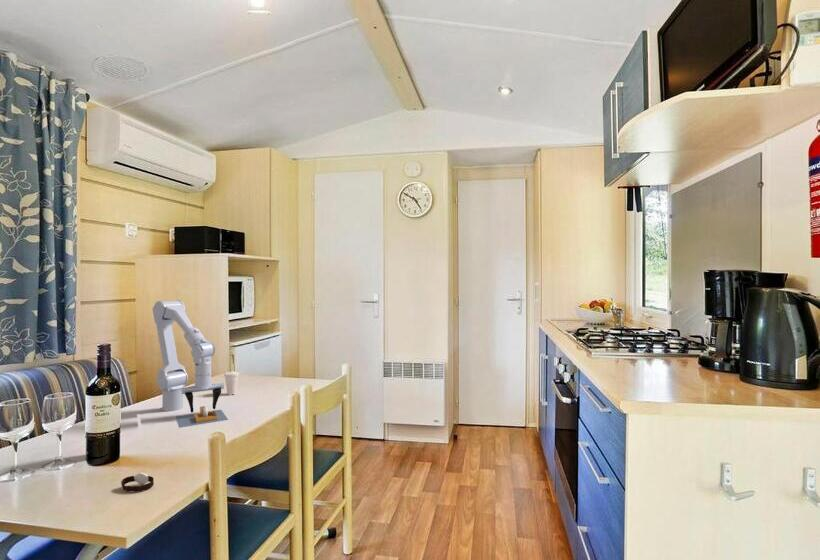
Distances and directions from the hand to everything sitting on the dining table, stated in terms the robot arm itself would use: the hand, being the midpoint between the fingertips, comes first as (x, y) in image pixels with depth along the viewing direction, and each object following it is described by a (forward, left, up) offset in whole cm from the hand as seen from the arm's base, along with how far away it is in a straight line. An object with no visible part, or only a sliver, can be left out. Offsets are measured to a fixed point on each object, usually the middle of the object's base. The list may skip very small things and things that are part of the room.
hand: (203, 410), depth 166 cm
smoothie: (-30, +16, -3) cm, 34 cm away
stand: (+4, -1, -3) cm, 5 cm away
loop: (+3, 0, -2) cm, 4 cm away
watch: (+53, -22, -3) cm, 57 cm away
